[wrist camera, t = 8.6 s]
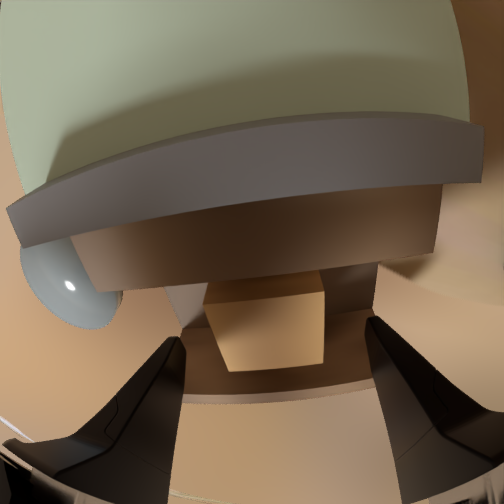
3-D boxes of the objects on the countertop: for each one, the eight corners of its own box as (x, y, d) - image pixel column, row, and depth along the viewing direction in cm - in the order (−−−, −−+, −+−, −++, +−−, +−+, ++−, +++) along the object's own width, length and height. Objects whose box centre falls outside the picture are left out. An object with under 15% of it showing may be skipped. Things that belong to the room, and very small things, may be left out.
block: (307, 232, 12) (324, 291, 8) (311, 300, 14) (323, 362, 11) (218, 244, 12) (202, 304, 9) (235, 309, 14) (229, 371, 11)
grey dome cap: (90, 204, 12) (78, 214, 11) (141, 316, 16) (135, 330, 15) (16, 229, 13) (5, 238, 12) (63, 317, 17) (56, 327, 16)
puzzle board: (342, -41, 5) (380, -94, 1) (368, 314, 15) (391, 383, 11) (95, 9, 7) (24, -10, 2) (189, 333, 16) (172, 402, 12)
